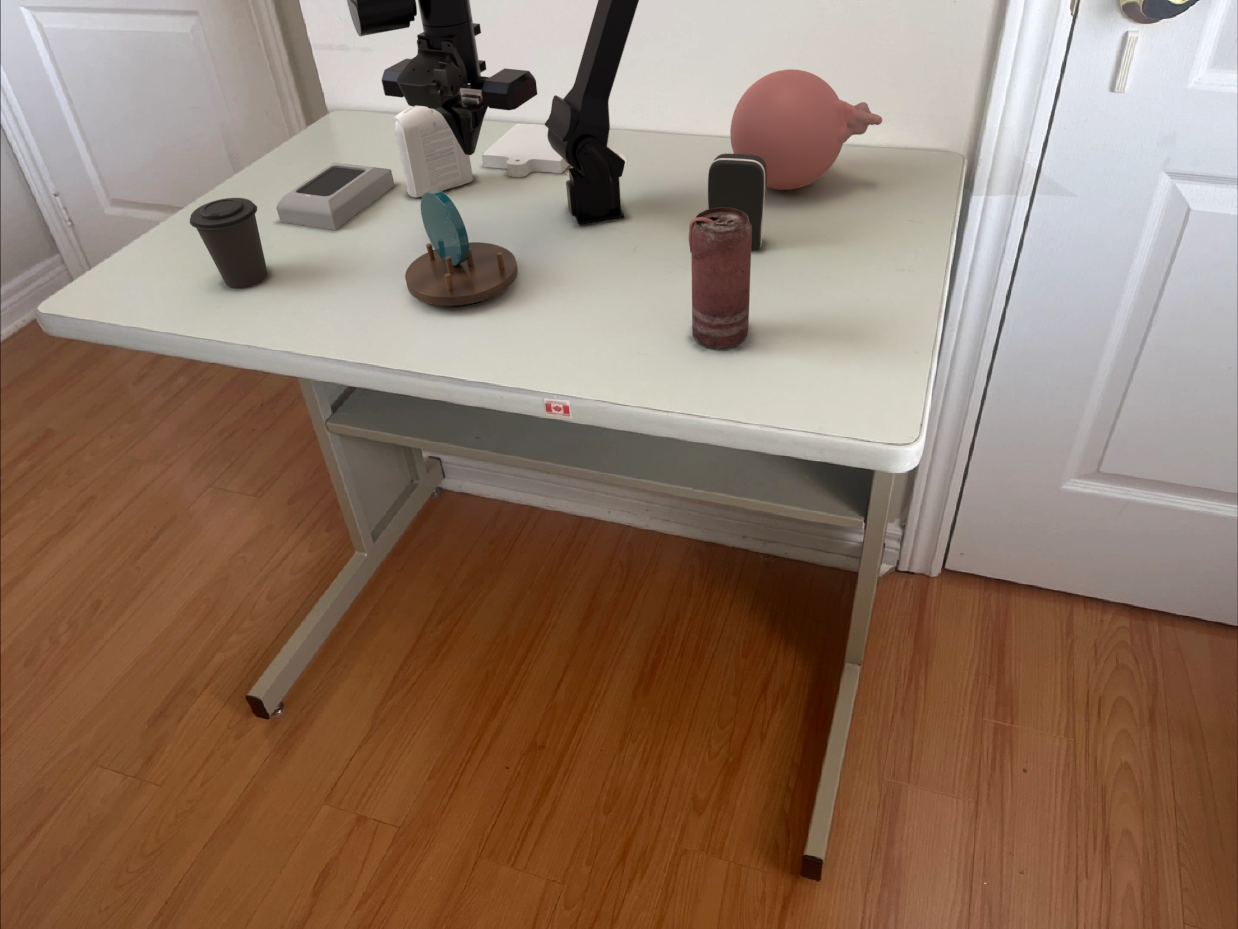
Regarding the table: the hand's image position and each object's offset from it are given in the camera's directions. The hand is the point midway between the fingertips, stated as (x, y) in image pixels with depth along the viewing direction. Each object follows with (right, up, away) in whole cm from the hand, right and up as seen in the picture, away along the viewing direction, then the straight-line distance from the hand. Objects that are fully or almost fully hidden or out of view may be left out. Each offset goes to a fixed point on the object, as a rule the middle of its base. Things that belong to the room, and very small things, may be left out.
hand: (469, 153), depth 115 cm
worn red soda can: (+30, -25, -13) cm, 41 cm away
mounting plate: (+6, +10, +30) cm, 32 cm away
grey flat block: (-22, -1, +20) cm, 30 cm away
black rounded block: (+34, -10, +3) cm, 35 cm away
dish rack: (-1, -16, -2) cm, 16 cm away
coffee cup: (-30, -15, +4) cm, 33 cm away
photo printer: (-8, +2, +22) cm, 24 cm away
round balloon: (+44, 0, +15) cm, 47 cm away
